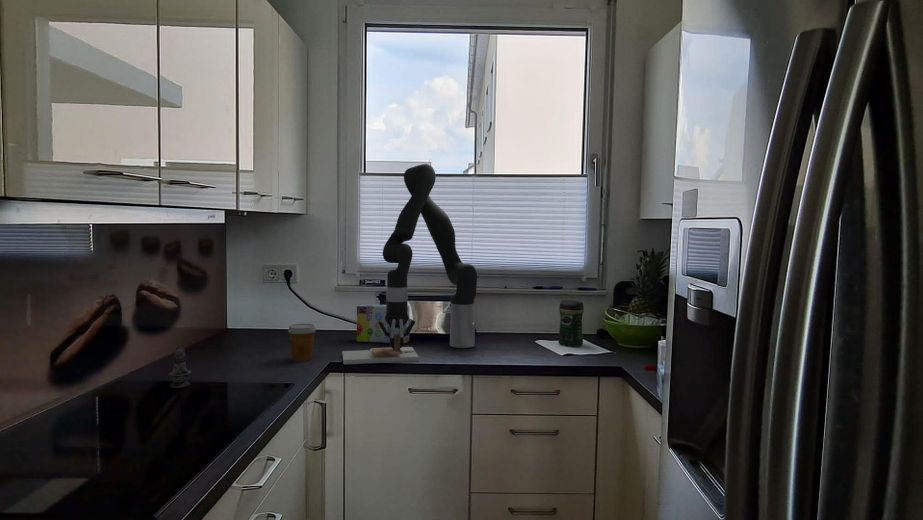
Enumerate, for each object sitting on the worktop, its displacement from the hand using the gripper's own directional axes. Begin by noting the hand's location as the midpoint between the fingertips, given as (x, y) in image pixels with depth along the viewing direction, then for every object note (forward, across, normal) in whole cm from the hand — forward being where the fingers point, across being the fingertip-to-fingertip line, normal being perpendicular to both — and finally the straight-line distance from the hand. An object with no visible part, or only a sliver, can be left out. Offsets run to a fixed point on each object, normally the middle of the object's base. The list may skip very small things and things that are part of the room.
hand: (396, 347), depth 185 cm
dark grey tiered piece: (+5, +66, +18) cm, 68 cm away
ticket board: (+4, +6, -3) cm, 8 cm away
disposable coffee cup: (+4, +32, -6) cm, 33 cm away
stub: (+2, +4, 0) cm, 4 cm away
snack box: (+5, +2, -31) cm, 31 cm away
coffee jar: (+4, -74, -11) cm, 74 cm away
